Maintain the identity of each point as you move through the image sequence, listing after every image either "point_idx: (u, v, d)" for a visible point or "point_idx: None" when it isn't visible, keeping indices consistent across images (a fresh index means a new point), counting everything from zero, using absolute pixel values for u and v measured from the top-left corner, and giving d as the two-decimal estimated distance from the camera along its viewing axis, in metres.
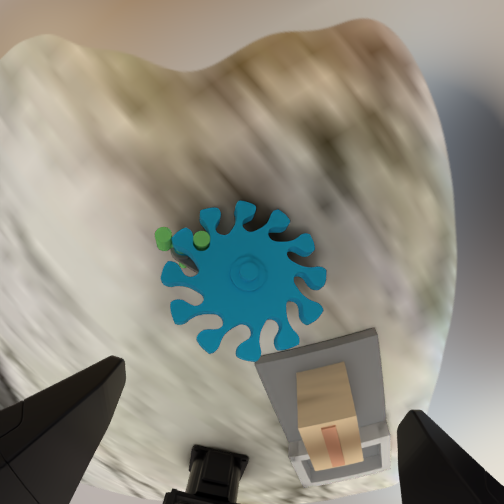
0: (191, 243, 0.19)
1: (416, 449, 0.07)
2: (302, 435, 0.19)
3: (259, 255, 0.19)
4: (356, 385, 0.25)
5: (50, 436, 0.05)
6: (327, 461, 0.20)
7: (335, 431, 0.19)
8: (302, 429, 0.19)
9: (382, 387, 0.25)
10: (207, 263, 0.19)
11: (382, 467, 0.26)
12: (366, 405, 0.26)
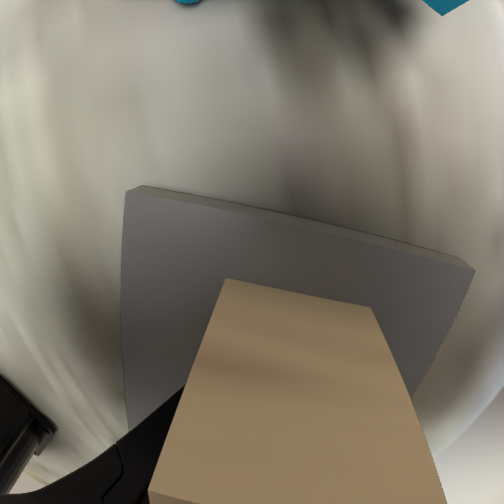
0: None
1: None
2: None
3: None
4: None
5: None
6: None
7: None
8: (170, 502, 0.03)
9: None
10: None
11: None
12: None
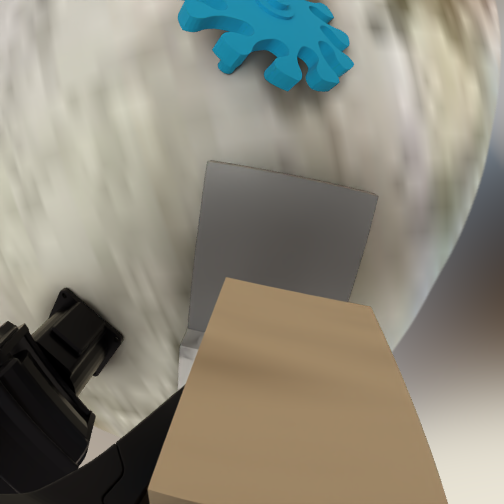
0: None
1: None
2: None
3: (293, 7, 0.12)
4: (320, 266, 0.19)
5: None
6: None
7: None
8: (170, 502, 0.03)
9: (349, 290, 0.19)
10: None
11: None
12: None
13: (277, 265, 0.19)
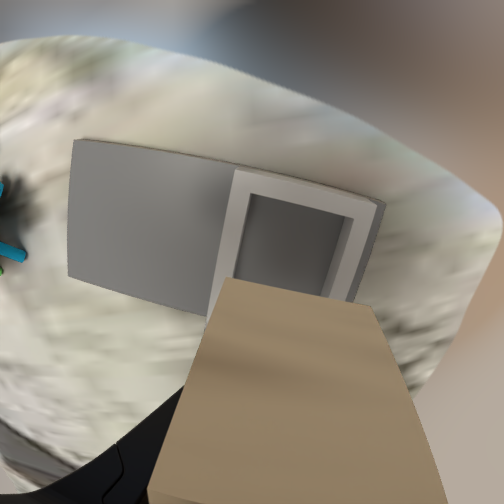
0: None
1: None
2: None
3: None
4: (131, 185, 0.18)
5: None
6: None
7: None
8: (169, 501, 0.03)
9: (154, 152, 0.18)
10: None
11: (354, 217, 0.16)
12: (179, 185, 0.18)
13: (134, 226, 0.19)
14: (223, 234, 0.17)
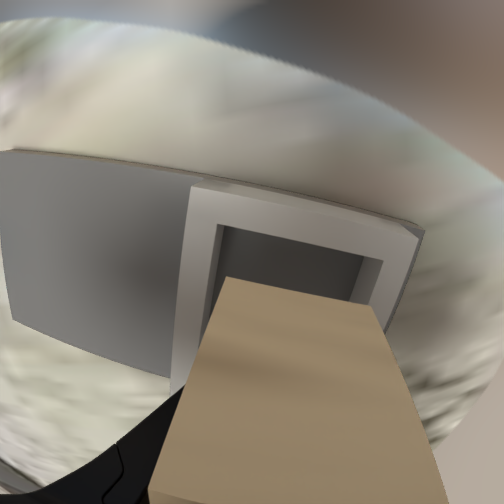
0: None
1: None
2: None
3: None
4: (63, 210, 0.12)
5: None
6: None
7: None
8: (170, 501, 0.03)
9: (87, 163, 0.12)
10: None
11: (384, 258, 0.10)
12: (122, 208, 0.12)
13: (72, 265, 0.13)
14: (180, 286, 0.11)
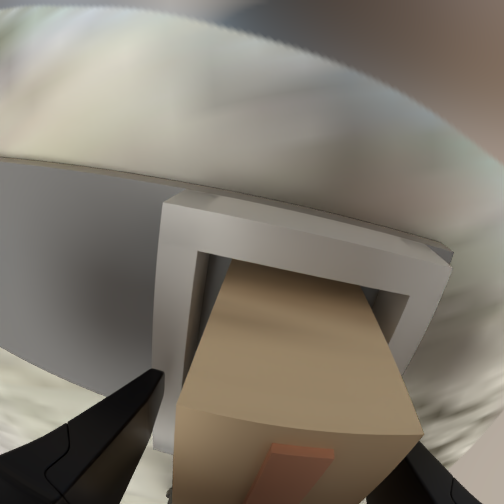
0: None
1: None
2: (180, 440, 0.04)
3: None
4: (28, 226, 0.10)
5: (102, 460, 0.05)
6: None
7: (317, 474, 0.04)
8: (193, 418, 0.04)
9: (50, 171, 0.09)
10: None
11: (411, 293, 0.07)
12: (90, 225, 0.10)
13: (41, 287, 0.11)
14: (155, 325, 0.08)
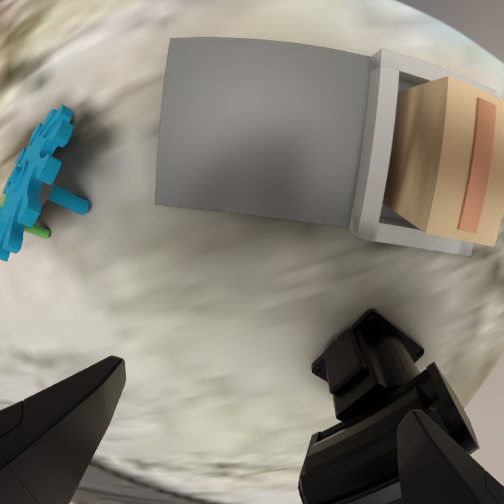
0: (0, 209, 0.16)
1: (416, 449, 0.07)
2: (449, 97, 0.09)
3: (25, 160, 0.16)
4: (251, 78, 0.15)
5: (50, 436, 0.05)
6: (456, 208, 0.11)
7: (494, 116, 0.09)
8: (453, 82, 0.09)
9: (278, 43, 0.14)
10: (5, 205, 0.16)
11: None
12: (310, 74, 0.15)
13: (255, 123, 0.16)
14: (378, 112, 0.14)
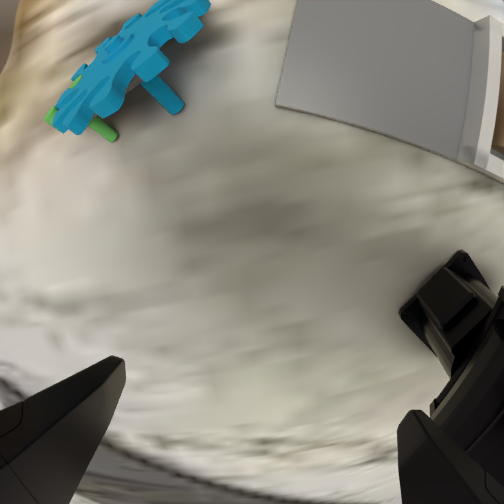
0: (69, 90, 0.14)
1: (416, 449, 0.07)
2: None
3: None
4: (383, 10, 0.13)
5: (50, 436, 0.05)
6: None
7: None
8: None
9: None
10: (83, 80, 0.13)
11: None
12: (430, 22, 0.13)
13: (386, 48, 0.14)
14: (489, 61, 0.12)
